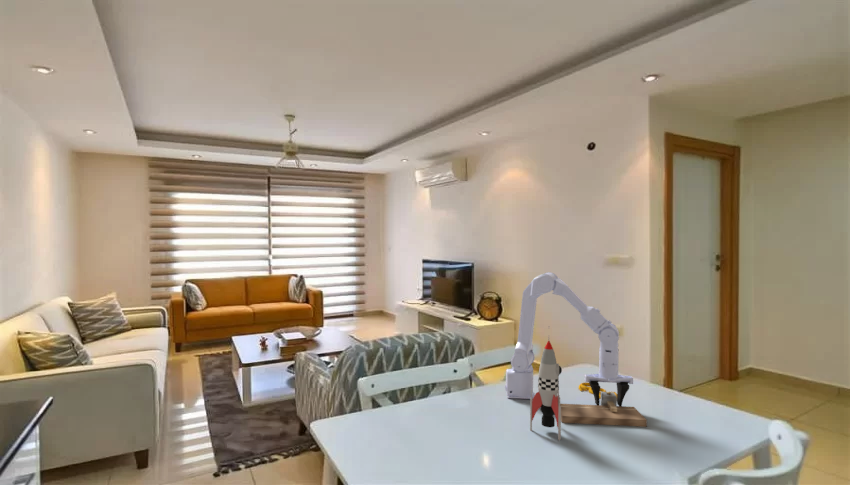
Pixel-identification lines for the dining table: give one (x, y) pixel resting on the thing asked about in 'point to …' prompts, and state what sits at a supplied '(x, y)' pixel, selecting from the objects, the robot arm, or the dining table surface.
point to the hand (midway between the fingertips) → (608, 404)
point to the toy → (547, 391)
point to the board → (601, 415)
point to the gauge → (609, 400)
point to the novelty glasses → (590, 389)
